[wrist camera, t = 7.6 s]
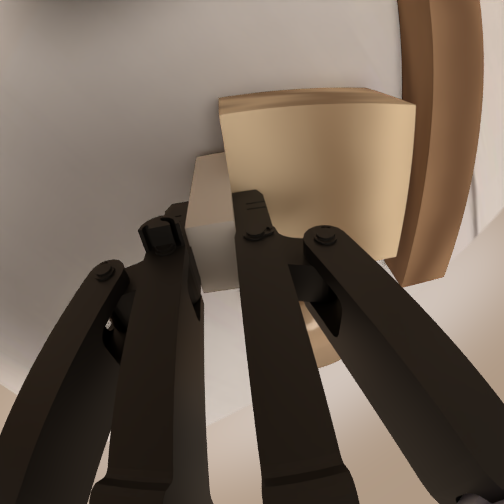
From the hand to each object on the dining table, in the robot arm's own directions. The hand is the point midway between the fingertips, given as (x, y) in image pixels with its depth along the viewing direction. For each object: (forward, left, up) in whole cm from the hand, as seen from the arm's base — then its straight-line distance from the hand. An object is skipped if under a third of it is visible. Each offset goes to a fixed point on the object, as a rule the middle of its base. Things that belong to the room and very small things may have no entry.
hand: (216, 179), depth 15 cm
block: (+5, 0, -2) cm, 5 cm away
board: (+13, +2, -2) cm, 13 cm away
